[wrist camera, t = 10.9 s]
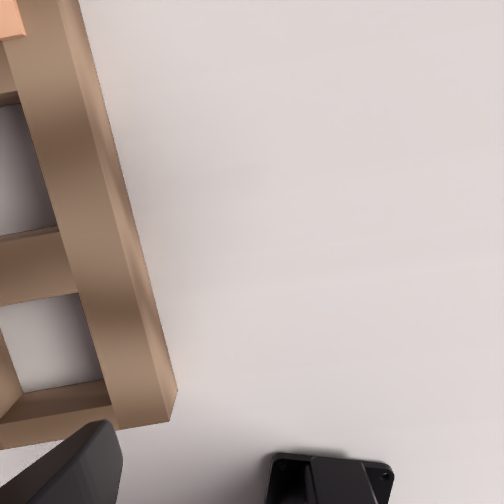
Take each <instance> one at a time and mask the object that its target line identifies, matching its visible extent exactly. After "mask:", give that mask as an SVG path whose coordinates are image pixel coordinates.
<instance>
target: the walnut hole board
mask: <svg viewBox="0 0 504 504" xmlns="http://www.w3.org/2000/svg"><path fill="white" fill-rule="evenodd" d="M17 103H21V105H22V108H23V112H24V115H25V118H26V121H27V125H28V128H29V131H30V135H31V138H32V141H33V145H34V148H35V151H36V155H37V158H38V161H39V165H40V168H41V171H42V174H43V178H44V181H45V184H46V188H47V191H48V194H49V198H50V201H51V204H52V208H53V211H54V214H55V218H56V221H57V224H58V226H52V227H47V228H42V229H36V230H31V231H25V232H20V233H15V234H9V235H4V236H0V306H5V305H11V304H16V303H22V302H27V301H33V300H38V299H44V298H49V297H55V296H60V295H66V294H71V293H77V292H78V294H79V297H80V300H81V304H82V307H83V310H84V314H85V317H86V320H87V324H88V327H89V330H90V334H91V337H92V340H93V343H94V347H95V350H96V353H97V357H98V360H99V363H100V367H101V370H102V373H103V377H104V380H98V381H92V382H87V383H81V384H75V385H69V386H64V387H58V388H52V389H46V390H41V391H35V392H29V393H23V391H22V389H21V386H20V383H19V380H18V377H17V375H16V372H15V369H14V366H13V363H12V361H11V358H10V355H9V352H8V349H7V347H6V344H5V341H4V338H3V335H2V333H1V330H0V450H4V449H10V448H16V447H22V446H28V445H33V444H39V443H45V442H51V441H57V440H63V439H67V438H68V437H69V436H71V435H72V434H73V433H75V432H76V431H78V430H79V429H80V428H82V427H83V426H84V425H86V424H87V423H89V422H92V421H97V420H103V419H108V420H110V421H111V422H112V424H113V426H114V429H115V431H116V430H122V429H128V428H134V427H139V426H145V425H151V424H157V423H163V422H169V421H170V417H171V413H172V410H173V406H174V402H175V399H176V395H177V392H178V389H177V385H176V381H175V377H174V373H173V369H172V366H171V362H170V358H169V354H168V350H167V346H166V342H165V338H164V334H163V330H162V326H161V323H160V319H159V315H158V311H157V307H156V303H155V299H154V295H153V291H152V287H151V283H150V280H149V276H148V272H147V268H146V264H145V260H144V256H143V252H142V248H141V244H140V240H139V237H138V233H137V229H136V225H135V221H134V217H133V213H132V209H131V205H130V201H129V197H128V194H127V190H126V186H125V182H124V178H123V174H122V170H121V166H120V162H119V158H118V154H117V151H116V147H115V143H114V139H113V135H112V131H111V127H110V123H109V119H108V115H107V111H106V108H105V104H104V100H103V96H102V92H101V88H100V84H99V80H98V76H97V72H96V68H95V65H94V61H93V57H92V53H91V49H90V45H89V41H88V37H87V33H86V29H85V25H84V22H83V18H82V14H81V10H80V6H79V2H78V0H0V107H2V106H7V105H12V104H17Z"/></svg>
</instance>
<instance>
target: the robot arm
mask: <svg viewBox="0 0 504 504" xmlns="http://www.w3.org/2000/svg"><path fill="white" fill-rule="evenodd" d="M281 462H283V463H285V464H283V465H278V463H281ZM122 466H123V456H122V451H121V448H120V445H119V442H118V439H117V436H116V432H115V429H114V426H113V424H112V422H111V421H110V420H108V419H103V420H97V421H92V422H89V423H87V424H86V425H84V426H83V427H82V428H80V429H79V430H78V431H76V432H75V433H73V434H72V435H71V436H69V437H68V438H67V439H65V440H64V441H63V442H61V443H60V444H59V445H57V446H56V447H55V448H53V449H52V450H50V451H49V452H48V453H46V454H45V455H44V456H42V457H41V458H40V459H38V460H37V461H36V462H34V463H33V464H32V465H30V466H29V467H27V468H26V469H25V470H23V471H22V472H21V473H19V474H18V475H17V476H15V477H14V478H13V479H11V480H10V481H9V482H7V483H6V484H5V485H3V486H2V487H0V504H116V499H117V494H118V488H119V483H120V477H121V472H122ZM383 473H387V474H385V475H382V474H383ZM381 475H382V476H381ZM393 481H394V473H393V471H392V469H391V467H390V466H389V465H387V464H383V463H373V462H364V461H354V460H345V459H335V458H325V457H316V456H306V455H297V454H287V453H278V454H276V455H274V456H273V458H272V460H271V466H270V472H269V478H268V484H267V490H266V496H265V502H264V504H388V501H389V497H390V493H391V489H392V485H393Z"/></svg>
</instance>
